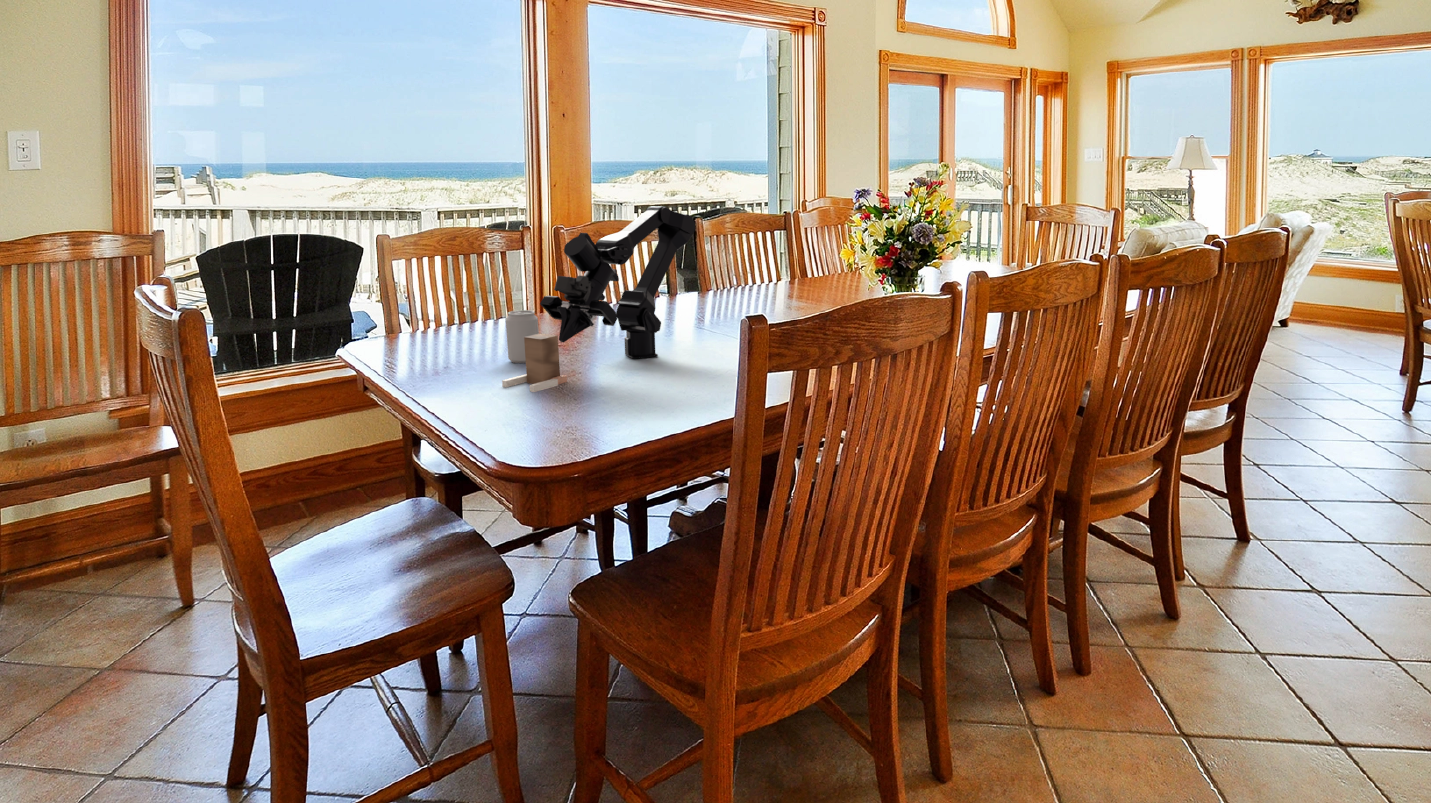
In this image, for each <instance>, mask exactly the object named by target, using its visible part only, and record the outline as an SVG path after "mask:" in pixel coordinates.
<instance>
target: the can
mask: <svg viewBox="0 0 1431 803" xmlns="http://www.w3.org/2000/svg"><path fill="white" fill-rule="evenodd" d="M535 313H536V312H535V311H534V310H530V309H529V310H528V309H527V310H526V309H519V310H511V311H509V312H507V315H508V316H506V318H505V329H506V330H505V331H506V344H507V357H508V358H507V359H508V360H509V361H510V362H512V363H513V364H526V359H525V344H524V337H527V336H531V335H536V334H540V332H539V331H540V330H539V317H538V316H537V315H535Z"/></svg>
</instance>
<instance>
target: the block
mask: <svg viewBox="0 0 1431 803" xmlns="http://www.w3.org/2000/svg"><path fill="white" fill-rule="evenodd" d="M524 344H525V359H526V363H525V371H526V374H527V382H526V383H527V384H529V385H532V384H536V383H539V382H543V381H547V380H550V379H551V378H554V377H557V376H561V369H560V368H561V367H560V352H559V336H558V335H556V334H550V333H549V334H547V333H539V334H536V335H531V336H527V337H524Z"/></svg>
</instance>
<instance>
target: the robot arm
mask: <svg viewBox="0 0 1431 803" xmlns="http://www.w3.org/2000/svg"><path fill="white" fill-rule="evenodd" d="M656 230H657V237H658V242H657V244H656V246H655V249H654V250H653V253H652V254H651V256H650V258H649V261H648V263H647V265H646V266H645V268H644V271H643V273H642V275H641V277H640V279H639V281H638V283H637V285H636V286H635V288H634V289H633V290H628V289H627V290H624V291H623V292H622V295H621V298H620V299H619V301H618V302H617V305H618V306H617V308H616V310H614V308H613V307H612V305H611V304H610V303H609V301H607V300H605V299H606V296H605V295H604V293H605V290H606V289H607V288H608V285H609V283H610V282H619V280H620V278H619V274H618V270H617V269H614V268H613V267H612V266H611V265H620V266H621V265H622V266H623V265H625V264H626V263H627V262H628V260H630V258H631V257H632V256H633V254H634V251H635V248H636V246H637V245H638V244H640V243H641V242H642V241H643V240H645V239H646V238H647V237H648V236H650V235H651V234H652V233H654V231H656ZM695 231H696V223H695V220H694V219H693V217H692V216H691V215H690V214H684V213H682V212H681V213H680V212H679V211H678V212H677V211H674V210H672V209H669V208H668V207H666V206H659V205H655V206H654V205H653V206H649V207H647V208H646V209H645V211H644V212H643V213H641V214H640V215H639V216H638V217H636V218H635V219H634V220H632V221H631V222H630V223H629V224H628V225H627V226H625V227H624V228H623V229H621V230H620V231H618V232H614V233H611V234H608V235H605V236H604V237H602V238H599V239H598V240H597V241H596V243H595V242H594V241H593V239H592V238H591V236H590V235H589V233H588V232H580V233H579V234H578V235H577V236H574V237H573V238H572V239H571V240H569V241H568V242H566V243H565V245H564V249H563V252H564V254H565V256H566V257H567V258H568V259H569V260H570V261H571V263H572V264H573V265H574V267H576V269H577V270H578V271H580V272H582V273H583V272H584V274H583V275H577V277H572V276H565V275H564V276H563V275H558V276H557V277H556V282H555V284H554V285H555V286H554V289H553V290H554V292H559V293H562V294H564V296H563V298H564V299H565V300H566V301H564V300H562V298H561V297H560V296H558V295H557V296H556V295H555V296H554V295H545V296H543V298H542V300H541V301H540V303H539V305H540V306H541V307H542V309H544V310H545V311H546V312H547V314H548V315H549V316H550V317H551V318H552V319H553V320H559V321H561V323H560V327H559V328H560V329H559V336H558V341H560V343H565V342H567V341H568V340H570V339H571V338H573V337H574V336H576V335H577V334H580V333H581V332H583V331H584V330H586V329H588V328H590V327H594V323H593V321H594V320H595V319H596V318H597V317H603V319H602V324H603V325H604V326H610V327H611V326H612V327H614V326H615V324H616V322H617V321H618V324H619V328H620V331H625V332H626V336H624V355H626V356H627V357H629V358H630V359H632V360H633V359H635V360H636V359H637V360H638V359H647V358H657V357H658V356H659V354H658V353H656V333H658V332H660V330H661V327H662V321H661V320H660V319H659V317H658V316H657V315H656V314H655V313H656V312H655V311H656V302H655V297H656V295H657V292H658V290H659V288H660V287H661V285H662V282H663V280H664V278H665V275H666V273H667V271H668V270H669V269H670V268H669V267H670V265H671V264H672V261H673V260H674V257H675V255H676V253H677V252H678V251H679V249H681V248H682V247H684V246H686V244H688V242H689V241H690V239H691V238H692V236H693V235H694V233H695Z"/></svg>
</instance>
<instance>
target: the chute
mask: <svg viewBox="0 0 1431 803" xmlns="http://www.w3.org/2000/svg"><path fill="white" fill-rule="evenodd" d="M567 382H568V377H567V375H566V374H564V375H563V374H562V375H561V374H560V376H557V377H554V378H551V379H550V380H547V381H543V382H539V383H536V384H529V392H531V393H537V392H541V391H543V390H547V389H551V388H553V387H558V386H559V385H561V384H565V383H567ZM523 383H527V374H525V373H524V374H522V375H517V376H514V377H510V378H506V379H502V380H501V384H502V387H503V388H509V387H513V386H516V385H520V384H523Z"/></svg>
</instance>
